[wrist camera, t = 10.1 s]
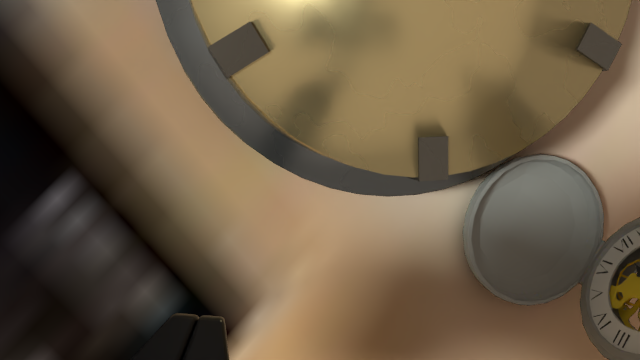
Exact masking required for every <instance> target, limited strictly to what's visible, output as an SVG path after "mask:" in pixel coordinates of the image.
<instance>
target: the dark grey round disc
mask: <svg viewBox="0 0 640 360" xmlns="http://www.w3.org/2000/svg"><path fill="white" fill-rule="evenodd" d="M156 2H157V5H158V8H159V11H160V14H161V17H162V20H163V23H164V26H165V29H166V32H167V35H168V37H169V39H170V42H171V44H172V46H173V48H174V50H175V52H176V54H177V56H178V58H179V61H180V63H181V65H182V67H183V69H184V71H185V73H186V75H187V76H188V78H189V79H190V81H191V82H192V84H193V85H194V87H195V89H196V90H197V92H198V93H199V95H200V96H201V98H202V99H203V100H204V102H205V103H206V104H207V105H208V106H209V107H210V109H211V110H212V111H213V112H214V113H215V115H216V116H217V117H218V118H219V119H220V121H221V122H222V123H223V124H225V125H226V126H227V127H228V128H229V129H230V130H231V131H232V132H233V133H234V134H235V135H237V136H238V137H239V138H240V139H241V140H242V141H243V142H245V143H246V144H247V145H249V146H250V147H252V148H253V149H255V150H256V151H257V152H259V153H260V154H262V155H263V156H265V157H266V158H267V159H269V160H270V161H272V162H273V163H275V164H276V165H278V166H280V167H282V168H284V169H286V170H288V171H290V172H292V173H294V174H296V175H298V176H299V177H301V178H304V179H307V180H309V181H312V182H315V183H318V184H321V185H323V186H326V187H329V188H332V189H337V190H342V191H346V192H351V193H356V194H362V195H376V196H403V195H417V194H422V193H427V192H432V191H437V190H442V189H446V188H449V187H452V186H455V185H457V184H460V183H463V182H466V181H469V180H471V179H473V178H475V177H477V176H479V175H481V174H483V173H485V172H487V171H489V170H491V169H493V168H495V167H497V166H498V165H500V164H501V163H502V162H504V161H505V160H507V159H508V158H510V157H511V156H513V155H514V154H513V155H511V156H509V157H507V158H505V159H503V160H501V161H498V162H496V163H494V164H490V165H487V166H484V167H481V168H478V169H475V170H472V171H469V172H463V173H457V174H452V175H448V180H435V181H416V180H413V179H410V178H408V177H404V176H394V175H384V174H380V173H376V172H372V171H368V170H364V169H359V168H355V167H353V166H350V165H347V164H344V163H341V162H339V161H336V160H333V159H331V158H328V157H326V156H323V155H320V154H318V153H315V152H313V151H310V150H309V149H307V148H305V147H303V146H301V145H300V144H298V143H296V142H294V141H293V140H291V139H289V138H287V137H286V136H284V135H283V134H282V133H280V132H279V131H278V130H276V129H275V128H274V127H272V126H271V125H270V124H268V123H267V122H266V121H264V120H263V119H262V118H261V117H260V116H259V115H258V114H257V113H256V112H255V111H254V110H253V109H252V108H251V107H250V106H249V105H248V104H247V103H246V102H245V101H244V100H243V99H242V98H241V97H240V96H239V94H238V93H237V92H236V91H235V89H234V88H233V87H232V86H231V84H230V83H229V82H228V81H227V80H226V78H225V77H224V75H223V74H222V72H221V70H220V69H219V67H218V66H217V64H216V62H215V61H214V59H213V58H212V56H211V55H210V53H209V51H208V48H207V46H206V44H205V42H204V39H203V37H202V35H201V33H200V31H199V28H198V26H197V24H196V21H195V18H194V15H193V12H192V8H191V5H190V2H189V0H156ZM515 154H516V153H515Z"/></svg>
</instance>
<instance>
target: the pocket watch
mask: <svg viewBox="0 0 640 360" xmlns="http://www.w3.org/2000/svg"><path fill="white" fill-rule="evenodd" d="M603 221H604V214H603V208H602V203H601V200H600V197H599V194H598V191H597V189H596V188H595V186H594V185H593V183H592V182H591V180H590V179H589V177H588V176H587V175H586V173H585V172H583V171H582V170H581V169H580V168H579V167H577V166H576V165H575V164H573V163H571V162H570V161H568V160H565V159H562V158H559V157H556V156H551V155H545V154H537V155H531V156H525V157H519V158H515V159H513V160H511V161H509V162H507V163H505V164H503V165H501V166H499V167H498V168H497V169H496V170H494V171H493V172H492V173H491V174H489V175H488V176H487V177H486V179H485V180H484V181H483V182H482V183H481V184H480V186H479V187H478V189H477V190H476V192H475V194H474V195H473V197H472V199H471V201H470V204H469V206H468V209H467V212H466V215H465V221H464V227H463V241H464V251H465V256H466V258H467V261H468V263H469V266H470V269H471V271H472V272H473V274H474V275H475V276H476V278H477V280H478V281H479V282H480V283H481V284H482V285H483V286H484V287H486V288H487V289H488V290H489V291H490V292H491V293H493V294H494V295H495V296H497V297H499V298H501V299H503V300H505V301H509V302H512V303H515V304H519V305H535V304H542V303H547V302H549V301H551V300H554V299H556V298H558V297H561V296H563V295H564V294H565V293H567V292H568V291H569V290H570V289H572V288H573V287H574V286H575V285H576V284H578V283H580V284H582V290H581V299H580V308H581V315H582V322H583V326H584V328H585V330H586V332H587V335H588V337H589V339H590V341H591V342H592V343H593V344H594V345H595V347H596V348H597V349H598V350H599V351H600V353H601V354H602V355H603V356H604V357H606V358H607V359H609V360H640V327H639V330H638V331H637V330H636V329H635V328H634V327H633V326H632V325H631V324H630V322H629V318H630V317H631V316H632V315H633V314H634V313H635V312H636V311H637V309H638V308H640V218H638V219H636V220H634V221H632V222H630V223H628V224H626V225H624V226H623V227H622V228H621V229H619V230H618V231H617V232H616V233H614V234H613V235H612V236H611V237H610V238H609V239H608V240H607V241H606V242H605V241H602V237H603ZM636 272H637V274H636ZM632 298H638V300H637V301H636V303H635V304H632V303H630V302H629V301H630V300H631V299H632ZM625 303H626V304H628V305H631V306H633V307H632V308H631V309H629V307H628V306H627V305H625ZM639 316H640V309H639V312H638V318H639V320H640V317H639Z"/></svg>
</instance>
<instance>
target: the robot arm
mask: <svg viewBox="0 0 640 360" xmlns="http://www.w3.org/2000/svg"><path fill="white" fill-rule="evenodd" d="M130 360H229V353H228V345H227V336H226V327H225V320H224V318H223V317H218V316H206V315H204V316H201V317H200V318H199V317H198V316H197V315H193V314H180V313H177V314H174V315H172V316H171V317H170V318H169V319H168V320H167V321H166V322H165V323H164V324H163V325H162V326H161V327H160V328H159V329H158V331H157V332H156V333H155V334H154V335H153V336H152V337H151V338H150V339H149V340H148V341H147V342H146V343H145V344H144V345H143V347H142V348H141V349H140V350H139V351H138V352H137V353H136V354H135V355H134V356H133V357H132V358H131V359H130Z"/></svg>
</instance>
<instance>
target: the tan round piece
mask: <svg viewBox="0 0 640 360" xmlns="http://www.w3.org/2000/svg"><path fill="white" fill-rule="evenodd" d="M631 1H632V0H189V2H190V5H191V8H192V12H193V15H194V18H195V21H196V24H197V26H198V28H199V31H200V33H201V35H202V37H203V39H204V42H205V44H206V46H207V48H208V51H209V53H210V55H211V56H212V58H213V59H214V61H215V62H216V64H217V66H218V67H219V69H220V70H221V72H222V74H223V75H224V77H225V78H226V80H227V81H228V82H229V83H230V84H231V86H232V87H233V88H234V89H235V91H236V92H237V93H238V94H239V96H240V97H241V98H242V99H243V100H244V101H245V102H246V103H247V104H248V105H249V106H250V107H251V108H252V109H253V110H254V111H255V112H256V113H257V114H258V115H259V116H260V117H261V118H262V119H263V120H264V121H266V122H267V123H268V124H270V125H271V126H272V127H274V128H275V129H276V130H278V131H279V132H280V133H282V134H283V135H284V136H286V137H287V138H289V139H291V140H293V141H294V142H296V143H298V144H300V145H301V146H303V147H305V148H307V149H309V150H310V151H313V152H315V153H318V154H320V155H323V156H326V157H328V158H331V159H333V160H336V161H339V162H341V163H344V164H347V165H350V166H353V167H355V168H359V169H364V170H368V171H372V172H376V173H380V174H384V175H394V176H404V177H408V178H410V179H413V180H416V181H435V180H448V175H452V174H457V173H463V172H469V171H472V170H475V169H478V168H481V167H484V166H487V165H490V164H494V163H496V162H498V161H501V160H503V159H505V158H507V157H509V156H511V155H513V154H515V153H517V152H519V151H521V150H523V149H524V148H526V147H527V146H529V145H530V144H532V143H533V142H535V141H536V140H538V139H539V138H541V137H542V136H544V135H545V134H546V133H548V132H549V131H550V130H551V129H552V128H553V127H555V126H556V125H557V124H558V123H559V122H560V121H561V120H563V119H564V118H565V117H566V116H567V115H568V114H569V113H570V112H571V110H572V109H573V108H574V107H575V106H576V105H577V104H578V103H579V102H580V101H581V99H582V98H583V97H584V96H585V95H586V93H587V92H588V90H589V89H590V88H591V86H592V85H593V83H594V82H595V81H596V79H597V78H598V76H599V75H600V74H601V72H602V71H607V70H608V69H609V68H610V66H611V64H612V62H613V60H614V58H615V56H616V54H617V52H618V50H619V48H620V47H621V45H622V44H621V43H620V42H618V39H619V36H620V34H621V31H622V29H623V26H624V24H625V22H626V19H627V15H628V12H629V8H630V5H631Z"/></svg>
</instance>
